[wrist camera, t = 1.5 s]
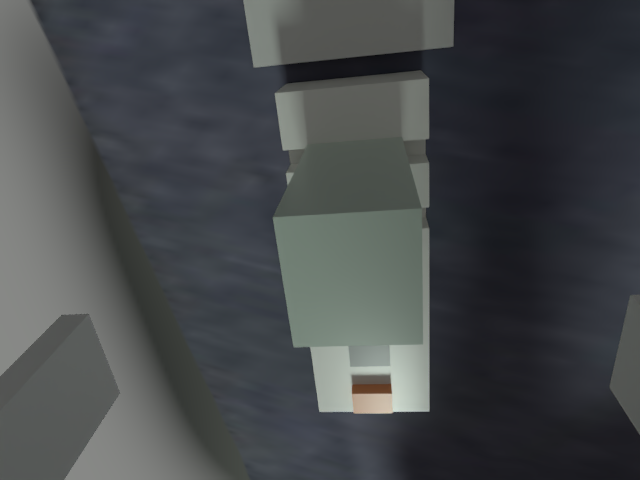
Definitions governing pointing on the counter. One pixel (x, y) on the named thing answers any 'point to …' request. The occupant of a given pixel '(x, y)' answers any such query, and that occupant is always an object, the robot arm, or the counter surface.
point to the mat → (344, 28)
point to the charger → (352, 246)
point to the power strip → (413, 126)
